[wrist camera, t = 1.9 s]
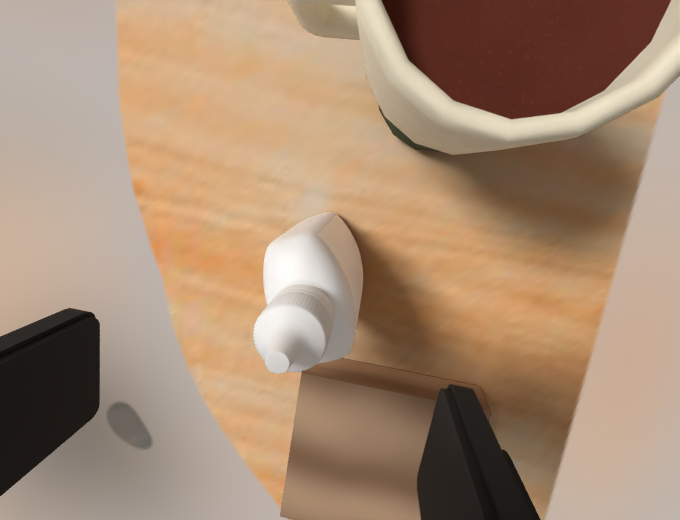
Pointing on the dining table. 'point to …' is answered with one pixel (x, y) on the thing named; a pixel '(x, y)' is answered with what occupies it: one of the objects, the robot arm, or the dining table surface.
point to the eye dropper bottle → (310, 295)
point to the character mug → (504, 64)
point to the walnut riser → (360, 441)
